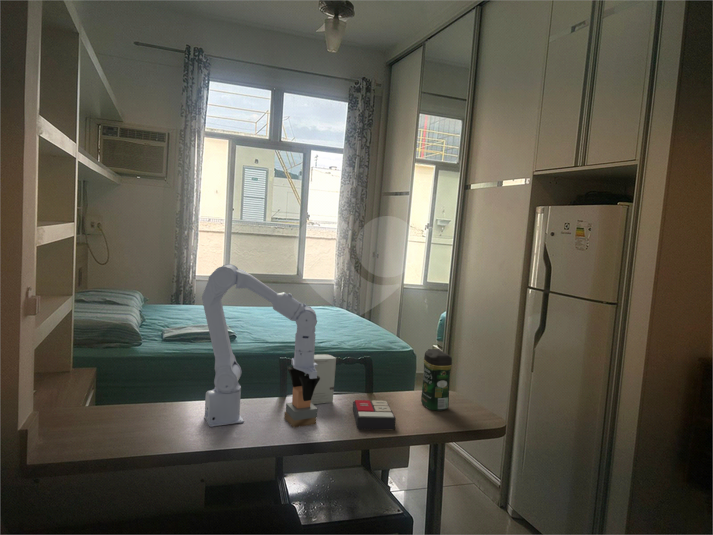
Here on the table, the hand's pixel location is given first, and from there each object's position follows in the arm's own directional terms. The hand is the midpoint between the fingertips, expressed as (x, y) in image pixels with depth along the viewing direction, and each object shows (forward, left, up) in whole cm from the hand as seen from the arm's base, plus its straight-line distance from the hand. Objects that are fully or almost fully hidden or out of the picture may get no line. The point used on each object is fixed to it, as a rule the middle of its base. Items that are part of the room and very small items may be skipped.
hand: (302, 395), depth 137 cm
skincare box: (+12, +13, -8) cm, 19 cm away
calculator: (+21, -6, -8) cm, 23 cm away
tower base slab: (0, 0, -8) cm, 8 cm away
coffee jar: (+46, -4, -8) cm, 46 cm away
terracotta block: (0, 0, -3) cm, 3 cm away
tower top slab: (0, 0, -5) cm, 5 cm away
